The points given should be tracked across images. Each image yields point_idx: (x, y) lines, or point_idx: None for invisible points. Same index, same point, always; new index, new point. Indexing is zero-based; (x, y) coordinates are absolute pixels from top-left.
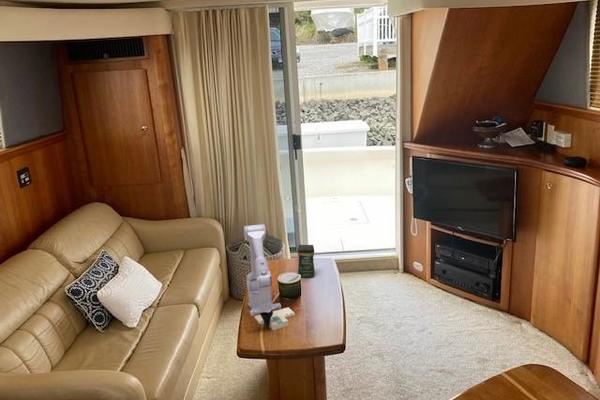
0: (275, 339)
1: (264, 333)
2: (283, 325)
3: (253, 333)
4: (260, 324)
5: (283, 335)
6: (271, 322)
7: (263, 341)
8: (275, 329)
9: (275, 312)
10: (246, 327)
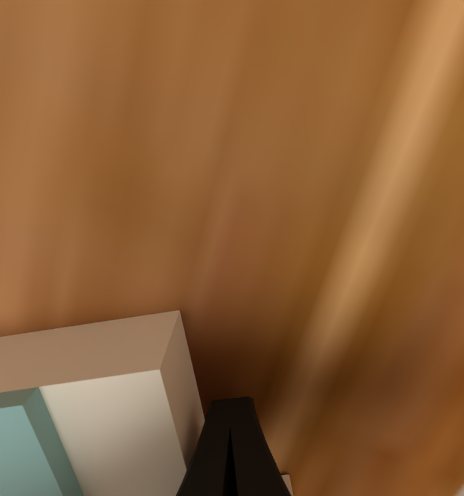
0: (201, 21)
1: (309, 277)
2: None
3: (440, 329)
4: (284, 475)
5: (39, 102)
6: (153, 451)
7: (413, 45)
8: (134, 317)
9: None
10: (450, 469)
